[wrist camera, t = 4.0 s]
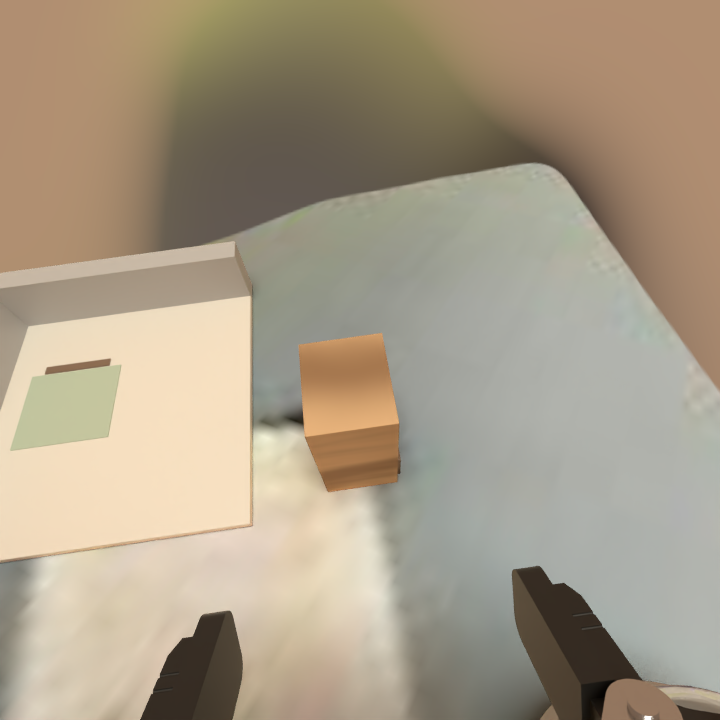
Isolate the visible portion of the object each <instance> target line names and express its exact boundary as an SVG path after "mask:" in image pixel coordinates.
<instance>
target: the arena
mask: <svg viewBox="0 0 720 720" xmlns="http://www.w3.org/2000/svg"><path fill="white" fill-rule="evenodd" d="M248 526H252V284H251V281H250V278H249V276H248V273H247V271H246V268H245V266H244V263H243V261H242V258H241V255H240V253H239V250H238V248H237V245H236V243H235V241H233V242H226V243H218V244H211V245H204V246H196V247H189V248H181V249H174V250H167V251H159V252H152V253H145V254H138V255H130V256H123V257H115V258H108V259H100V260H93V261H86V262H80V263H79V262H78V263H71V264H64V265H56V266H49V267H42V268H34V269H28V270H20V271H12V272H5V273H0V563H3V562H10V561H16V560H23V559H30V558H37V557H44V556H51V555H57V554H64V553H71V552H78V551H85V550H91V549H98V548H105V547H112V546H119V545H126V544H132V543H139V542H146V541H153V540H160V539H166V538H173V537H180V536H187V535H194V534H201V533H207V532H214V531H221V530H228V529H235V528H241V527H248Z"/></svg>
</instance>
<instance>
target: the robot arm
mask: <svg viewBox="0 0 720 720" xmlns="http://www.w3.org/2000/svg"><path fill="white" fill-rule="evenodd" d="M512 583H513V598H514V613H515V620H516V625H517V629H518V632H519V635H520V638H521V640H522V643H523V645H524V647H525V649H526V651H527V653H528V655H529V657H530V659H531V661H532V664H533V666H534V668H535V670H536V672H537V674H538V676H539V678H540V680H541V682H542V684H543V687H544V689H545V691H546V693H547V695H548V697H549V699H550V701H551V703H552V705H553V708H554V710H555V712H556V714H557V716H558V718H559V720H720V714H718V713H712V712H706V711H700V710H694V709H689V708H685V707H682V706H679V705H676V704H675V703H674V702H673V701H672V700H671V699H670V697H668V696H667V695H666V694H665V693H664V692H662V691H661V690H660V689H658V688H657V687H655V686H653V685H651V684H649V683H646V682H644V681H643V680H642V679H641V678H640V677H639V675H638V674H637V672H636V671H635V670H634V668H633V667H632V666H631V664H630V663H629V661H628V660H627V659H626V657H625V656H624V654H623V653H622V652H621V650H620V649H619V647H618V646H617V645H616V643H615V642H614V640H613V639H612V638H611V636H610V635H609V634H608V632H607V631H606V629H605V628H603V627H602V624H601V622H600V621H599V620H598V618H597V617H596V615H594V614H593V611H592V610H591V608H590V607H589V606H588V604H587V603H586V602H585V600H584V599H583V597H582V596H581V595H580V594H578V593H577V592H576V591H574V590H573V589H572V588H570V587H569V586H567V585H566V584H565V583H560V584H552V583H551V581H550V580H549V578H548V577H547V575H546V574H545V572H544V571H543V569H542V568H541V567H540V566H534V567H528V568H521V569H514V570H513V571H512ZM242 670H243V663H242V654H241V649H240V645H239V641H238V636H237V632H236V628H235V624H234V619H233V615H232V613H231V611H223V612H216V613H209V614H203V615H202V616H201V618H200V620H199V622H198V625H197V627H196V630H195V633H194V635H193V637H188V638H182V640H181V641H180V642H179V643H178V644H177V646H176V647H175V648H174V649H173V650H172V652H171V653H170V654H169V655H168V657H167V659H166V662H165V664H164V666H163V668H162V671H161V673H160V678H158V680H157V682H156V685H155V687H154V689H153V694H151V696H150V698H149V701H148V703H147V705H146V708H145V710H144V712H143V715H142V717H141V719H140V720H232V719H233V715H234V711H235V706H236V702H237V698H238V694H239V689H240V685H241V680H242Z"/></svg>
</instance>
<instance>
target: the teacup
mask: <svg viewBox="0 0 720 720" xmlns="http://www.w3.org/2000/svg"><path fill="white" fill-rule="evenodd" d="M643 681H644V680H643ZM644 682H646V683H649V684H651V685H653V686H655V687H657V688H658V689H660V690H661V691H662V692H664V693H665V694H666V695H667V696H668V697H670V699H671V700H672V701H673V702H674V703H675V704H676V705H679V706H682V707H685V708H689V709H694V710H700V711H706V712H712V713H718V714H720V693H717V692H714V691H710V690H706V689H701V688H696V687H692V686H682V685H667V684H662V683H656V682H651V681H644ZM540 720H559V718H558V716H557V714H556V712H555V710H554V708H553V705H551V706H550V707H549V708H548V709H547V710H546V712H545V713H544V714H543V716H542V717H541V718H540Z"/></svg>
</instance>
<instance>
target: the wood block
mask: <svg viewBox="0 0 720 720" xmlns="http://www.w3.org/2000/svg"><path fill="white" fill-rule="evenodd" d="M299 357H300V372H301V387H302V402H303V417H304V432H305V439H306V441H307V443H308V446H309V448H310V450H311V453H312V455H313V457H314V460H315V462H316V464H317V467H318V469H319V472H320V474H321V476H322V479H323V481H324V483H325V486H326V488H327V490H328V492H332V491H339V490H346V489H352V488H359V487H366V486H373V485H380V484H387V483H394V482H397V474H400V463H401V459H400V454H399V448H398V441H399V420H398V415H397V410H396V405H395V399H394V394H393V389H392V384H391V378H390V373H389V368H388V363H387V357H386V352H385V347H384V342H383V336H382V333H379V334H372V335H365V336H358V337H351V338H344V339H336V340H329V341H322V342H315V343H308V344H301V345H299Z"/></svg>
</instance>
